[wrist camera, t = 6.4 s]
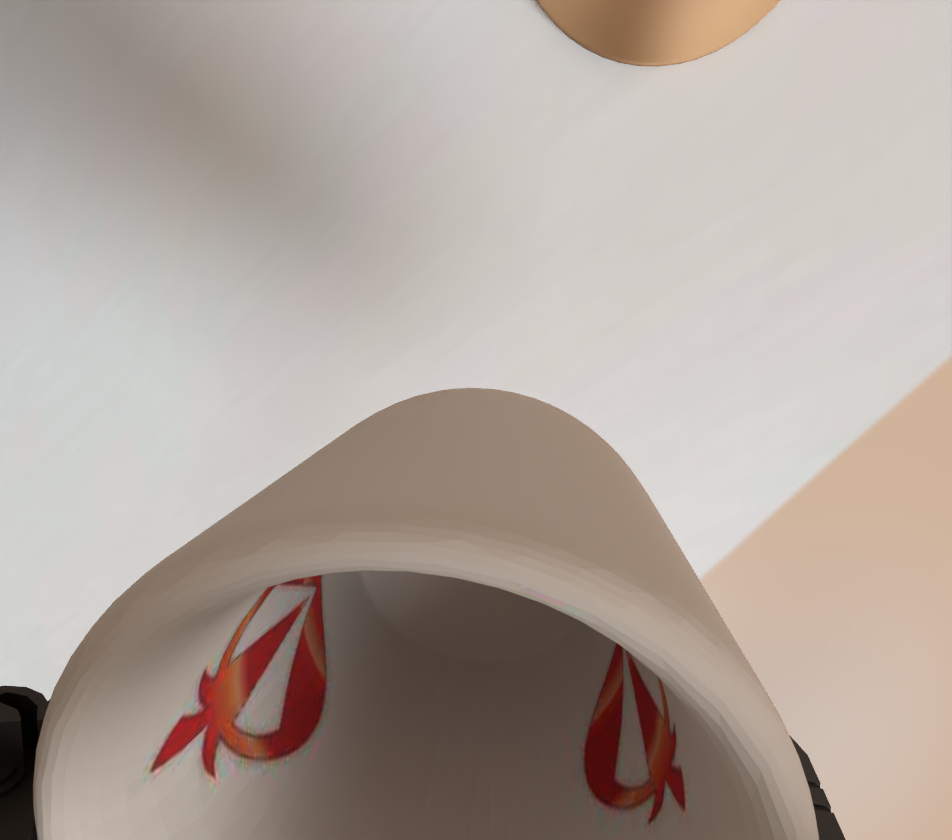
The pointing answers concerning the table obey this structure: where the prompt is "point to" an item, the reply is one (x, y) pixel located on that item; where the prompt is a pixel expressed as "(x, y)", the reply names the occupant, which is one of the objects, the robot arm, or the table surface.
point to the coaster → (655, 26)
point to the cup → (423, 659)
